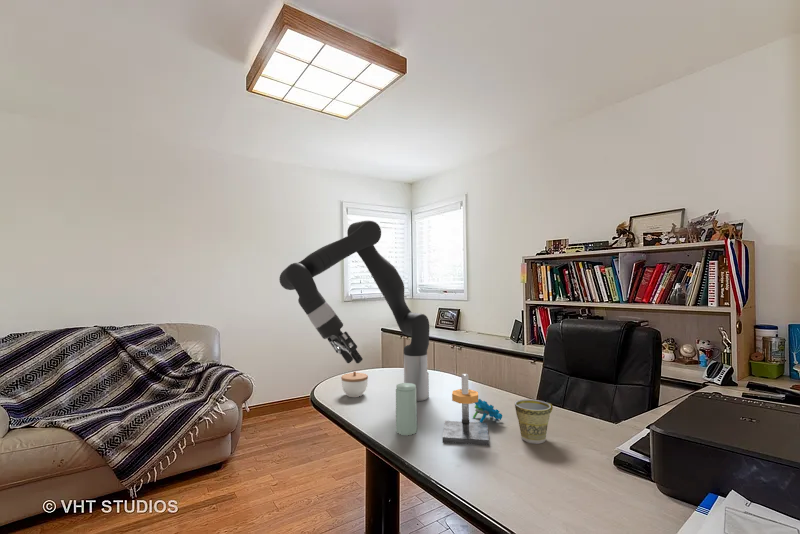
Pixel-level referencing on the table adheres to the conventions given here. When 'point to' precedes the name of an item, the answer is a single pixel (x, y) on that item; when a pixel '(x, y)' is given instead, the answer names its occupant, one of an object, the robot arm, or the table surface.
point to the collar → (465, 396)
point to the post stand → (465, 426)
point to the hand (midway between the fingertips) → (355, 361)
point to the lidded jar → (354, 384)
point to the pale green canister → (406, 409)
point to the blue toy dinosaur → (486, 410)
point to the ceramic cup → (533, 419)
